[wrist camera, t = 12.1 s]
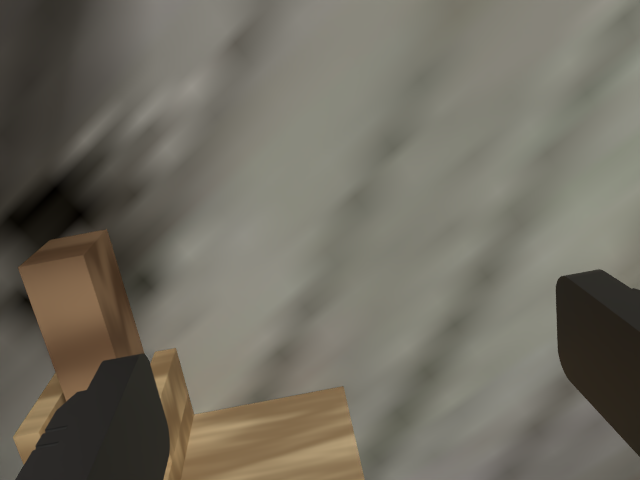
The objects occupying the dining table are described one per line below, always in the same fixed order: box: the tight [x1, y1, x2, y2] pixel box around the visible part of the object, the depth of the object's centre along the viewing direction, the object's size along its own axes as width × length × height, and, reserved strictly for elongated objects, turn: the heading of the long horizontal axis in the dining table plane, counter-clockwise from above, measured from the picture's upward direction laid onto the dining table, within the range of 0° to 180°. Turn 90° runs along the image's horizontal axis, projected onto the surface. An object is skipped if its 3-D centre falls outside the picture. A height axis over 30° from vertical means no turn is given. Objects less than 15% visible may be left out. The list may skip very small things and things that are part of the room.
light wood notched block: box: [13, 348, 364, 480], centre depth 39 cm, size 8×21×14 cm, turn 99°
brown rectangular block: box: [18, 229, 144, 401], centre depth 40 cm, size 13×4×6 cm, turn 10°
